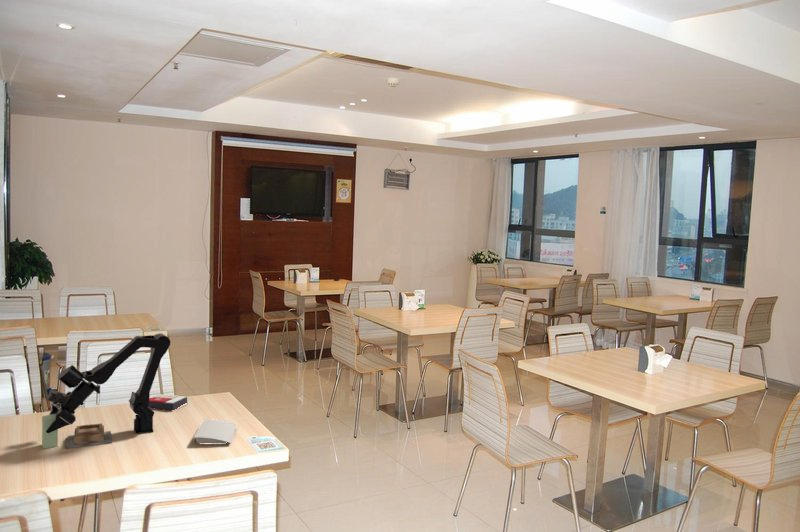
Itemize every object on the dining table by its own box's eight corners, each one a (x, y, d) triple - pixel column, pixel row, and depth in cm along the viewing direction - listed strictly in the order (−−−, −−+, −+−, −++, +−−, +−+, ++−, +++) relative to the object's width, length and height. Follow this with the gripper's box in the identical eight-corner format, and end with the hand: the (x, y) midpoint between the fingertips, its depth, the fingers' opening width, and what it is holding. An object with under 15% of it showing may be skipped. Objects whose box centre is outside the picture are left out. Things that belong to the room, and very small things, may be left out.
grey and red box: (159, 393, 283) (187, 395, 279) (159, 402, 283) (187, 404, 279) (143, 399, 272) (172, 402, 268) (143, 409, 273) (172, 411, 269)
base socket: (110, 432, 240) (110, 421, 240) (111, 443, 230) (111, 431, 229) (67, 437, 234) (67, 425, 233) (66, 448, 223) (66, 436, 223)
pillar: (56, 442, 228) (56, 413, 227) (57, 446, 224) (57, 417, 224) (42, 444, 225) (41, 415, 225) (43, 448, 222) (43, 419, 221)
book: (187, 448, 229) (188, 438, 229) (200, 427, 252) (200, 418, 251) (229, 448, 231) (229, 438, 230) (238, 427, 254) (238, 418, 253)
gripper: (58, 376, 233) (25, 408, 227) (65, 388, 218) (29, 423, 212) (81, 393, 238) (49, 425, 233) (89, 406, 223) (55, 441, 218)
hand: (45, 428), depth 224 cm, fingers open, 9 cm apart
